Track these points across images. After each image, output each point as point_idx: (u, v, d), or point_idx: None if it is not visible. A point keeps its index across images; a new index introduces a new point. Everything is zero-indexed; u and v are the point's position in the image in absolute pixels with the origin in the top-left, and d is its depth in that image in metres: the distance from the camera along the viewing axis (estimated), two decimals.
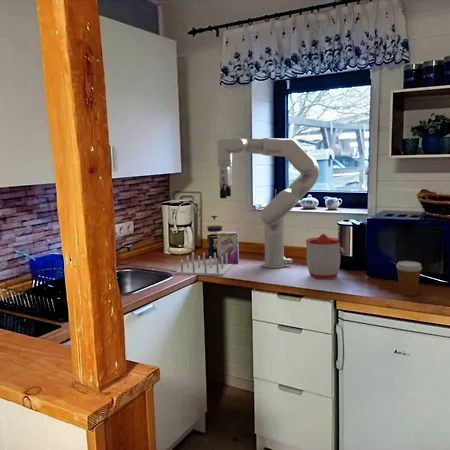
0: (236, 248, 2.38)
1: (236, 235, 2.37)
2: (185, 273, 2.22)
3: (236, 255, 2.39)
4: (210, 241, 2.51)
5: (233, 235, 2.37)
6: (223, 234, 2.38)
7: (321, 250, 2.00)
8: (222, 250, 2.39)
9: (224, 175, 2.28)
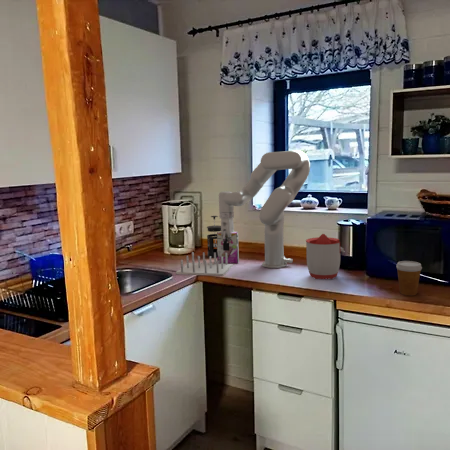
0: (236, 248, 2.38)
1: (236, 235, 2.37)
2: (185, 273, 2.22)
3: (236, 255, 2.39)
4: (210, 241, 2.51)
5: (233, 235, 2.37)
6: None
7: (321, 250, 2.00)
8: (222, 250, 2.39)
9: (226, 227, 2.34)
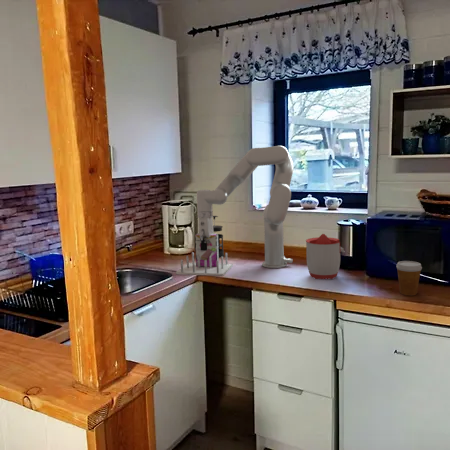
0: (215, 251, 2.29)
1: (215, 237, 2.28)
2: (185, 273, 2.22)
3: (215, 258, 2.29)
4: None
5: (212, 237, 2.28)
6: None
7: (321, 250, 2.00)
8: (201, 252, 2.30)
9: (204, 227, 2.25)
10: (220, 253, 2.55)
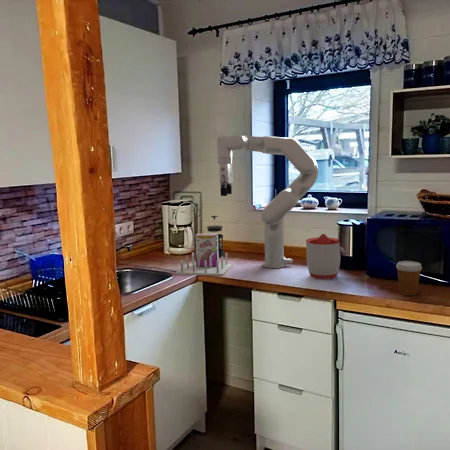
0: (215, 251, 2.29)
1: (215, 237, 2.27)
2: (185, 273, 2.22)
3: (215, 258, 2.29)
4: None
5: (212, 237, 2.28)
6: (202, 236, 2.28)
7: (321, 250, 2.00)
8: (201, 252, 2.29)
9: (224, 172, 2.27)
10: (220, 253, 2.55)
